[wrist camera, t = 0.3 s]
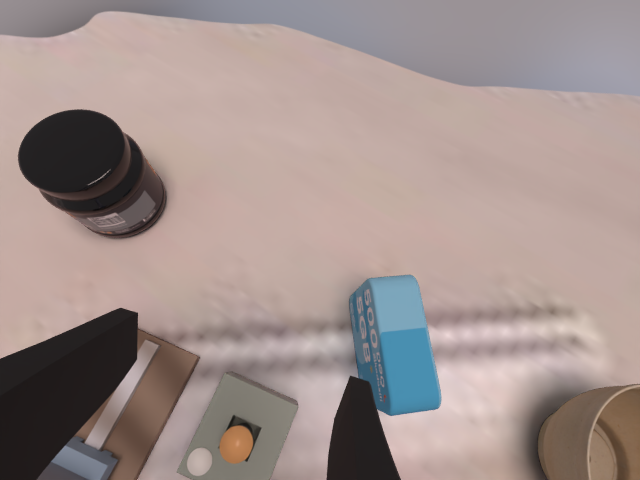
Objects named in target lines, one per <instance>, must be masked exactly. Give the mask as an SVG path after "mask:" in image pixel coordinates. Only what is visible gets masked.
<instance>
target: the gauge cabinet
mask: <svg viewBox="0 0 640 480" xmlns="http://www.w3.org/2000/svg"><path fill="white" fill-rule="evenodd" d="M297 409H298V403H297V401H296V400H294V399H291V398H289V397H287V396H285V395H283V394H280V393H278V392H276V391H274V390H272V389H269V388H267V387H265V386H263V385H261V384H258V383H256V382H254V381H252V380H250V379H247V378H245V377H243V376H241V375H239V374H236V373H234V372H227V373H225V374H224V376H223V378H222V380H221V382H220V384H219V386H218V388H217V390H216V392H215V394H214V396H213V398H212V400H211V402H210V404H209V406H208V409H207V411H206V413H205V415H204V417H203V419H202V421H201V423H200V425H199V427H198V429H197V431H196V433H195V435H194V437H193V439H192V441H191V444H190V446H189V448H188V450H187V452H186V454H185V456H184V458H183V460H182V462H181V464H180V466H179V468H178V470H177V473H180V474H182V475H184V476H186V477H188V478H190V479H192V480H270V477H271V475H272V472H273V470H274V467H275V465H276V462H277V459H278V457H279V454H280V452H281V449H282V447H283V444H284V442H285V439H286V437H287V434H288V432H289V429H290V427H291V424H292V422H293V419H294V416H295V414H296V411H297ZM240 423H247V424H249V425H250V426H251V428H252V431H253V435H252V437H253V447H252V450H251V452H250V454H249V456H248V457H247V458H246V459H245V460H244V461H242V462H240V463H236V464H232V463H229V462H227V461H226V460H224V459H223V457H222V455H221V453H220V448H219V447H220V441H221V438H222V436H223V434H224V433H225V432H226V431H227V430H228V429H229V428H231V427H233V426H236V425H238V424H240Z"/></svg>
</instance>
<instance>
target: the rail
mask: <svg viewBox="0 0 640 480" xmlns="http://www.w3.org/2000/svg"><path fill="white" fill-rule="evenodd" d="M199 359H200V357H199V356H197V355H195V354H192V353H190V352H188V351H186V350H183V349H181V348H179V347H177V346H175V345H172V344H170V343H168V342H166V341H164V340H161V339H159V338H157V337H155V336H153V335H150V334H148V333H146V332H144V331H142V330H139V329H138V339H137V361H136V362H135V363H134V365H133V366H132V368H131V369H130V371H129V372H128V374H127V375H126V376H125V378H124V379H123V380H122V382H121V383H120V385H119V386H118V387H117V388H116V390H115V391H114V392H113V393H112V394H111V395H110V396H109V398H108V399H107V400H106V401H105V402H104V403H103V404H102V405H101V407H100V408H99V409H98V410H97V411H96V412H95V413H94V414H93V415H92V417H91V418H90V419H89V420H88V421H87V422H86V423H85V424H84V425H83V427H82V428H81V429H80V430H79V431H78V432H77V433H76V434H75V435H74V436H73V437H76V436H77V437H80V438H82V439H84V441H83V442H82V443H84V444H86V445H88V446H90V447H92V448H94V449H96V450H99V451H101V452H102V451H104V450H107V451H109V452H111V453H113V454H112V456H111V457H113V458H115V459H117V460H118V461H117V463H116V464H115V466H114V468H113V470H112V472H111V474H110V475H109V477H108V479H107V480H137V478H138V476H139V474H140V472H141V470H142V468H143V466H144V465H145V463H146V461H147V459H148V457H149V455H150V453H151V451H152V449H153V447H154V445H155V443H156V441H157V439H158V438H159V436H160V434H161V432H162V430H163V428H164V426H165V424H166V422H167V420H168V418H169V416H170V414H171V413H172V411H173V409H174V407H175V405H176V403H177V401H178V399H179V397H180V395H181V393H182V391H183V389H184V388H185V386H186V384H187V382H188V380H189V378H190V376H191V374H192V372H193V370H194V368H195V366H196V364H197V362H198V361H199Z"/></svg>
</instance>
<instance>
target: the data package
mask: <svg viewBox="0 0 640 480" xmlns="http://www.w3.org/2000/svg"><path fill="white" fill-rule="evenodd" d="M349 308H350V316H351V323H352V330H353V338H354V345H355V352H356V360H357V367H358V374H359V379H363V380H366V381H369V382H370V384H371V387H372V392H373V396H374V400H375V404H376V408H377V409H378V410H380V411H382V412H384V413H386V414H388V415H390V416H393V415H400V414H407V413H414V412H421V411H428V410H435V409H438V408H439V407H440V404H441V390H440V385H439V380H438V376H437V371H436V366H435V361H434V356H433V352H432V347H431V342H430V337H429V332H428V327H427V323H426V318H425V313H424V308H423V303H422V298H421V294H420V289H419V285H418V282H417V280H416V279H415V277H414V276H412V275H401V276H390V277H378V278H369V279H367V280H366V281H365V282H364V283H363V284H362V285H361V286H360V287H359V288H358V289H357V290H356V291H355V292H354V293H353V294H352V295H351V296H350V300H349Z"/></svg>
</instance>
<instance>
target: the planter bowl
mask: <svg viewBox="0 0 640 480" xmlns="http://www.w3.org/2000/svg"><path fill="white" fill-rule="evenodd" d="M538 454H539V459H540V463H541V466H542V469H543V471H544V473H545V475H546V477H547V479H548V480H640V384H632V385H627V386H613V387H604V388H599V389H594V390H591V391H588V392H585V393H582V394H580V395H578V396H576V397H574V398H572V399H571V400H569V401H567V402H566V403H565V404H564V405H562V406H561V407H560V408H559V409H558V410H557V412H555V413H553V414H552V415H550V416H549V417H548V418H547V419H546V420H545V422H544V423H543V425H542V427H541V430H540V433H539V437H538Z"/></svg>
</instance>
